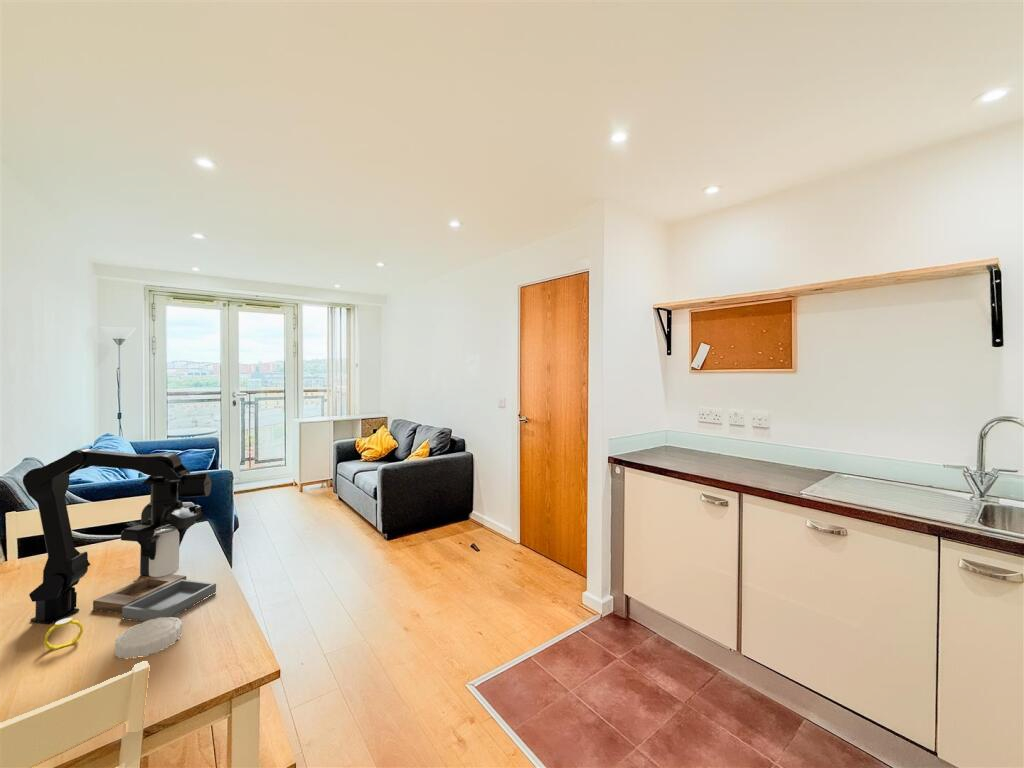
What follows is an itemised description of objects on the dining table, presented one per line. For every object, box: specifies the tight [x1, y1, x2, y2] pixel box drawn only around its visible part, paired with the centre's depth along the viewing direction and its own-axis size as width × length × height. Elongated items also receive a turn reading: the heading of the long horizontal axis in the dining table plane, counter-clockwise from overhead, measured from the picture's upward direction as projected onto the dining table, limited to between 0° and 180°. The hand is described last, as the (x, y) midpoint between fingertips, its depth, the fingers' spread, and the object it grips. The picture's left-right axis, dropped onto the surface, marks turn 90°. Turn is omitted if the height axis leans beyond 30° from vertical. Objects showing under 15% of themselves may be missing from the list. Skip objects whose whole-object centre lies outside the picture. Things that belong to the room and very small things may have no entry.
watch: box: [43, 617, 84, 651], centre depth 96 cm, size 6×3×6 cm, turn 137°
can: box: [148, 527, 180, 578], centre depth 116 cm, size 6×6×12 cm
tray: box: [121, 579, 217, 623], centre depth 114 cm, size 16×12×3 cm
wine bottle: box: [139, 485, 170, 577], centre depth 134 cm, size 6×6×30 cm
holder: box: [92, 573, 187, 614], centre depth 119 cm, size 17×11×2 cm, turn 170°
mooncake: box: [114, 616, 183, 660], centre depth 98 cm, size 12×12×4 cm
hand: (164, 554), depth 116 cm, fingers closed on can, 6 cm apart
